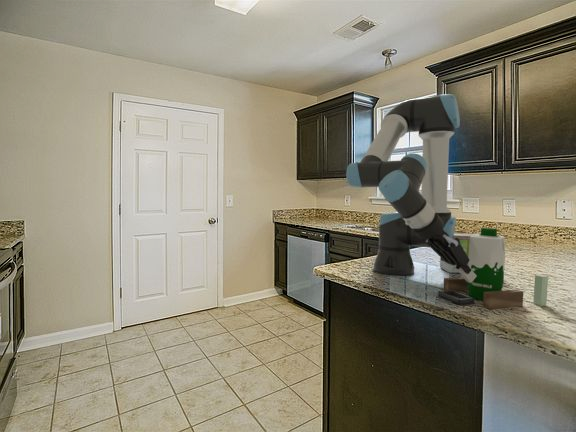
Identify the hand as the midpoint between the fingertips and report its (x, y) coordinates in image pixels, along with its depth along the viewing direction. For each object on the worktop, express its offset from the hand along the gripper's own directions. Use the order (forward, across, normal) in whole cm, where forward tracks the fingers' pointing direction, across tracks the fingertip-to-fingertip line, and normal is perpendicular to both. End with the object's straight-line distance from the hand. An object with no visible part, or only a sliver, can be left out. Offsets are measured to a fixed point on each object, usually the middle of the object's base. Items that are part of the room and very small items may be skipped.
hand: (471, 278), depth 93 cm
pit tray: (+1, -1, -8) cm, 8 cm away
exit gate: (+15, -1, +7) cm, 17 cm away
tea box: (+23, -31, +14) cm, 41 cm away
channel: (+7, -1, -1) cm, 7 cm away
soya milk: (+8, -1, 0) cm, 8 cm away
